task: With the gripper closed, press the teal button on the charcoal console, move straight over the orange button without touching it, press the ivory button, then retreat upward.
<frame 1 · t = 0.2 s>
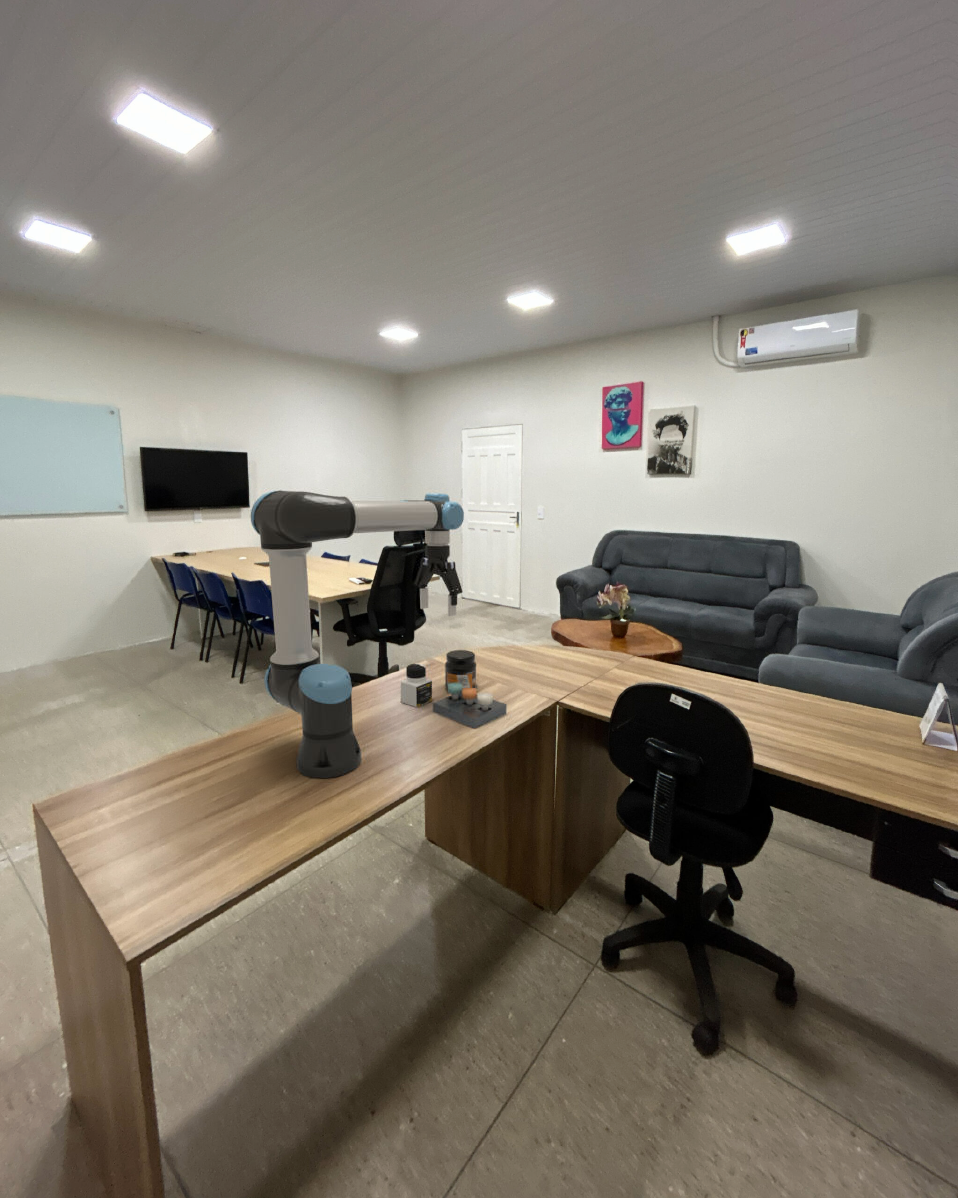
hand: (437, 611, 169), 28 cm above the table, fingers open, 13 cm apart
supplement container: (460, 688, 180), on the table
teal button: (455, 692, 163), point 5 cm above the table, slide at 0.0 cm
console: (469, 712, 160), on the table
ivory button: (484, 703, 155), point 5 cm above the table, slide at 0.0 cm
orange button: (469, 697, 159), point 5 cm above the table, slide at 0.0 cm
medicine bottle: (416, 702, 168), on the table
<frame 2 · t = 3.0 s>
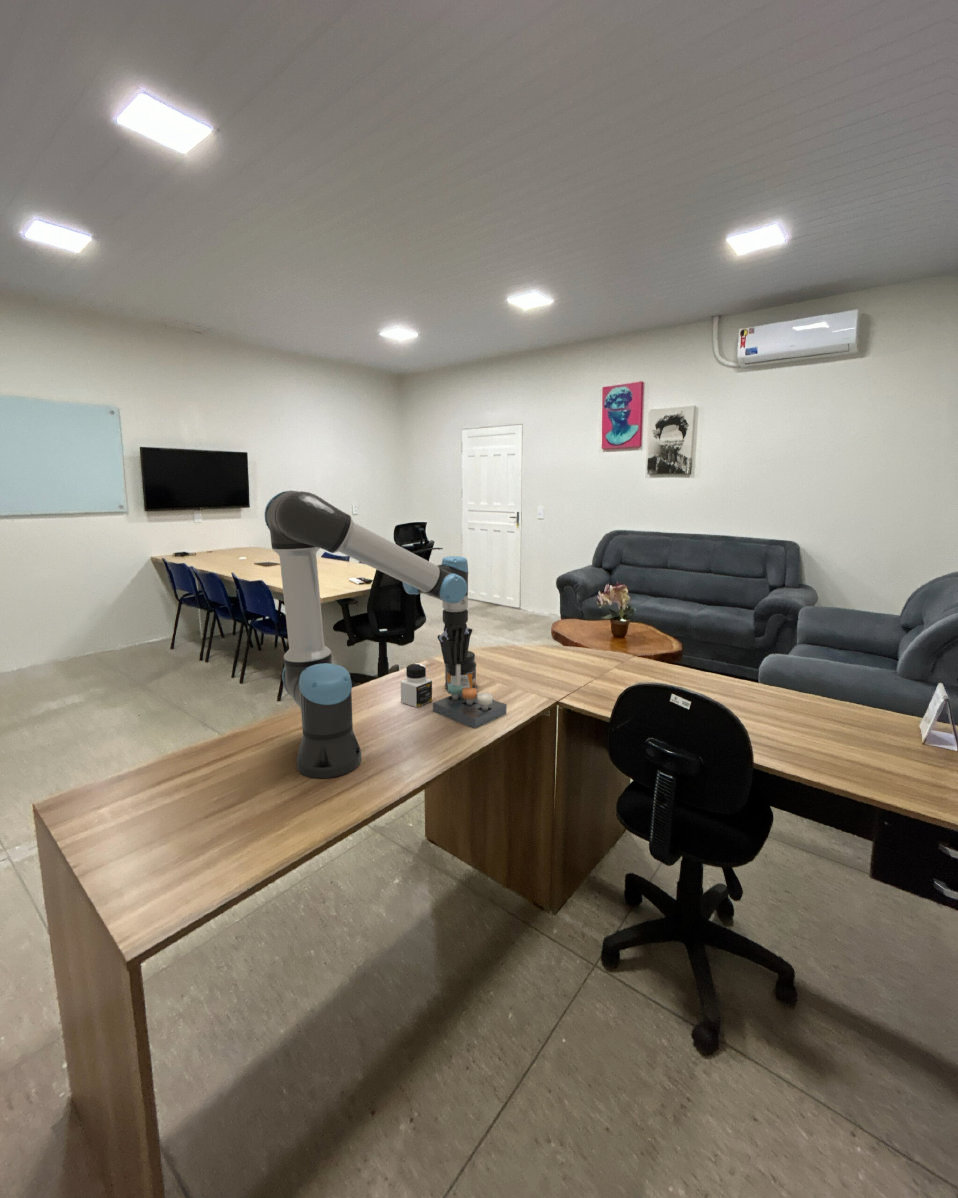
hand: (455, 684, 163), 7 cm above the table, fingers closed
teal button: (455, 693, 163), point 5 cm above the table, slide at -0.1 cm, touching gripper
everything else where it was.
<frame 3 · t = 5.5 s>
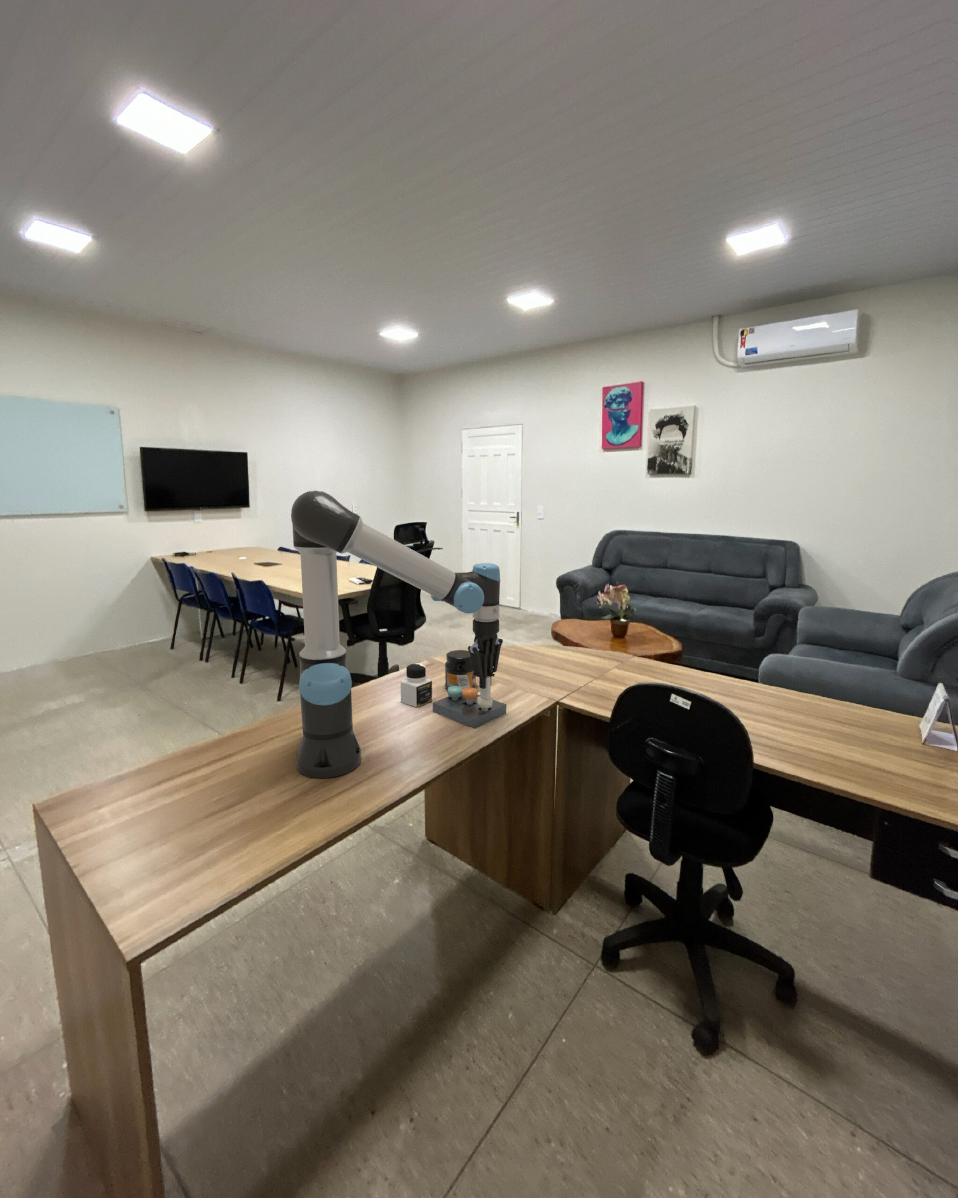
hand: (485, 697, 155), 6 cm above the table, fingers closed
teal button: (455, 695, 163), point 4 cm above the table, slide at -1.1 cm
ivory button: (484, 706, 155), point 4 cm above the table, slide at -1.0 cm, touching gripper
everything else where it was.
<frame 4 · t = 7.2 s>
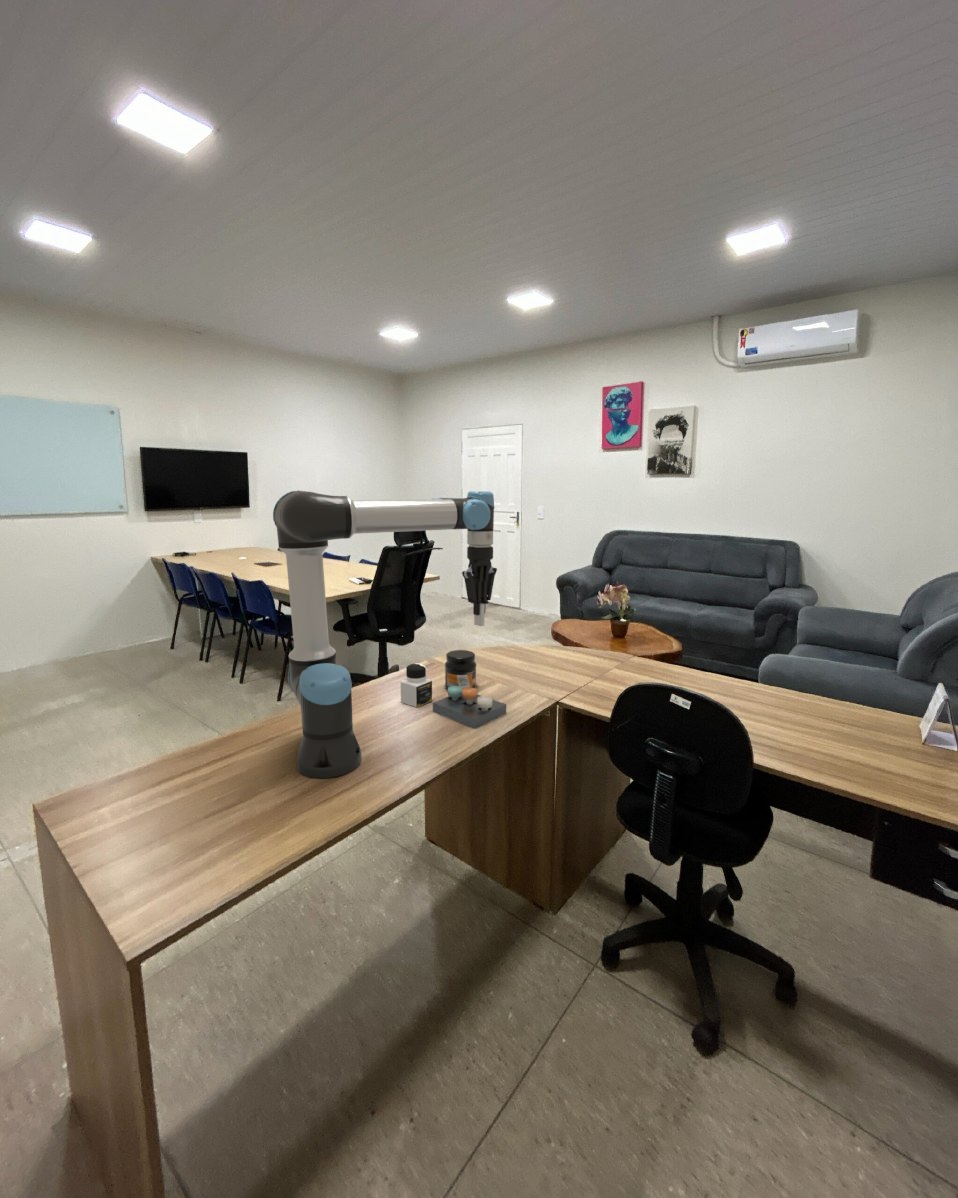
hand: (479, 625, 159), 26 cm above the table, fingers closed
ivory button: (484, 706, 155), point 4 cm above the table, slide at -1.1 cm
everything else where it was.
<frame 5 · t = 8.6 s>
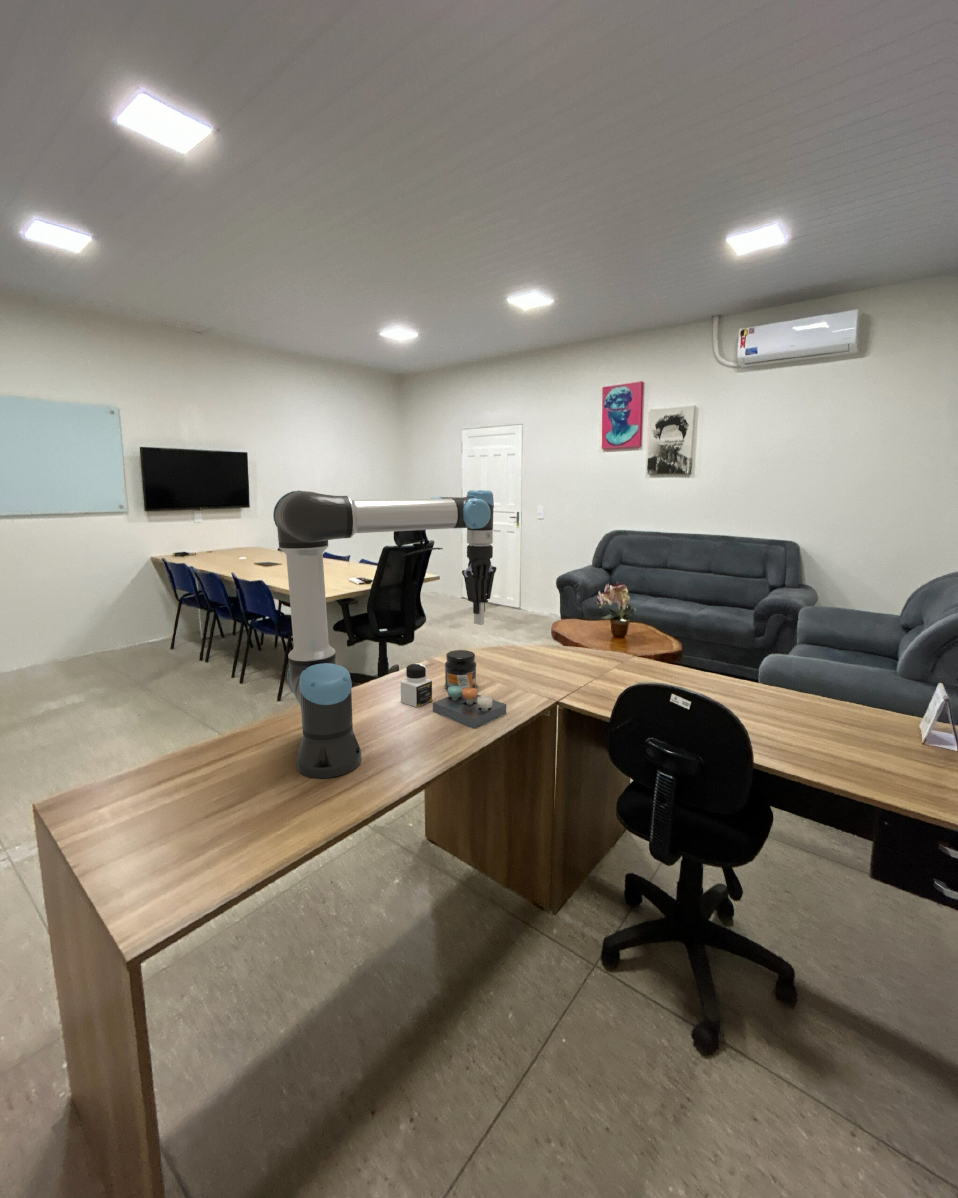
hand: (479, 623, 159), 26 cm above the table, fingers closed
nothing on the table moved.
at the end: teal button slide at -1.1 cm; ivory button slide at -1.1 cm; orange button slide at 0.0 cm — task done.
